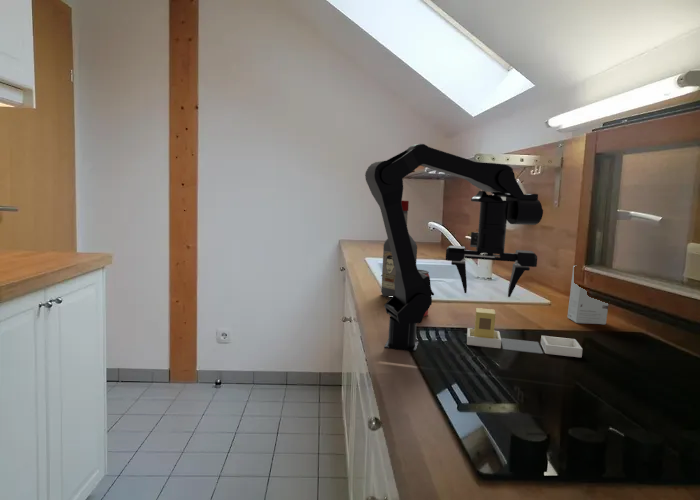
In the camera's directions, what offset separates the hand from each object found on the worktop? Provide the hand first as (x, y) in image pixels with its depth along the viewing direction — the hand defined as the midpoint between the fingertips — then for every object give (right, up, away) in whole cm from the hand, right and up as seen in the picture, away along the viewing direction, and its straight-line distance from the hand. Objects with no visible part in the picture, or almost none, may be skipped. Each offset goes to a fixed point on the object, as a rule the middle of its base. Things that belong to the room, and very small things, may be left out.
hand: (486, 294), depth 106 cm
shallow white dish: (-1, -11, +1) cm, 11 cm away
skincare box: (+34, -10, +25) cm, 43 cm away
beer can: (-13, -8, +24) cm, 28 cm away
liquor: (-15, -5, +47) cm, 49 cm away
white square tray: (+15, -12, -2) cm, 19 cm away
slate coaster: (+7, -11, 0) cm, 14 cm away
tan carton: (-1, -11, +1) cm, 11 cm away
